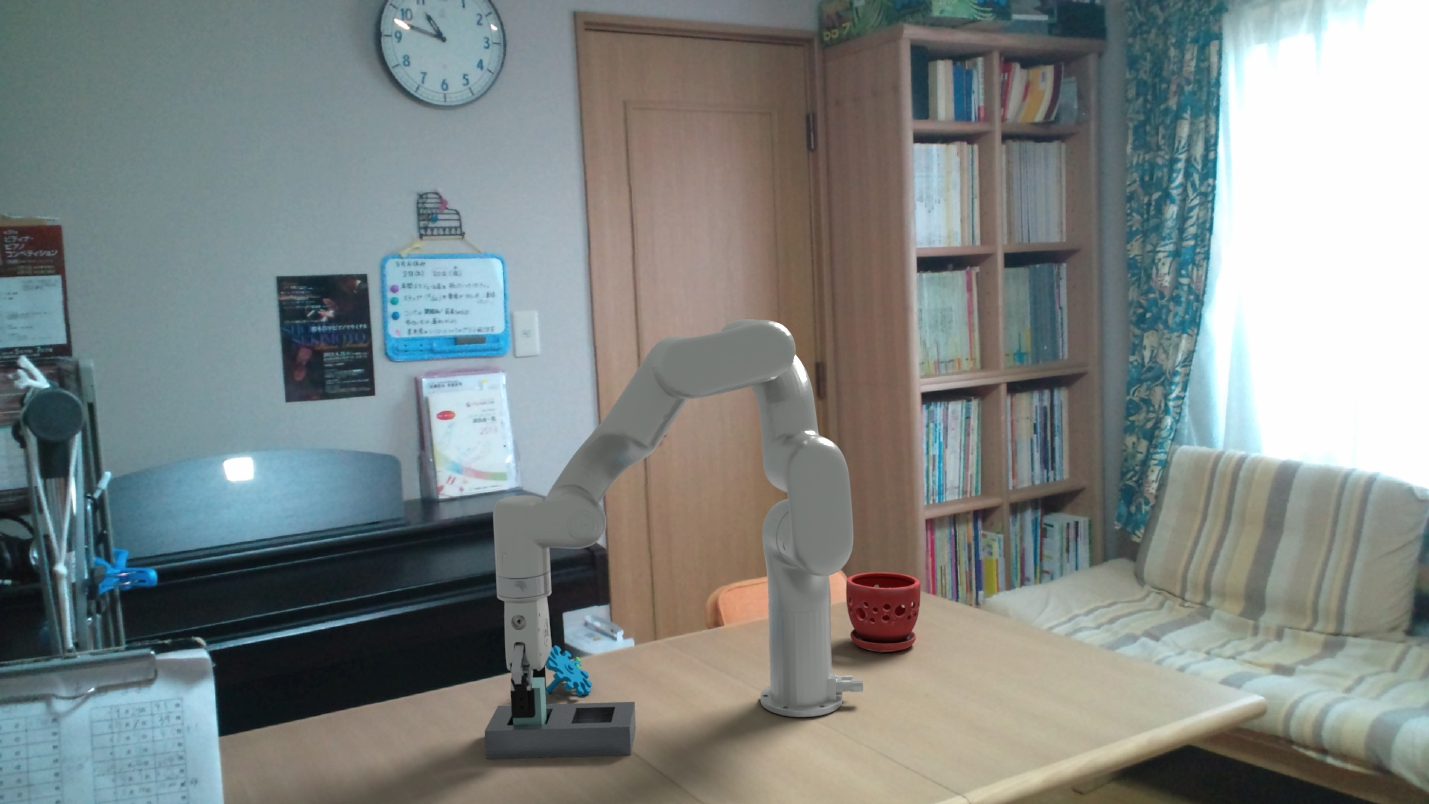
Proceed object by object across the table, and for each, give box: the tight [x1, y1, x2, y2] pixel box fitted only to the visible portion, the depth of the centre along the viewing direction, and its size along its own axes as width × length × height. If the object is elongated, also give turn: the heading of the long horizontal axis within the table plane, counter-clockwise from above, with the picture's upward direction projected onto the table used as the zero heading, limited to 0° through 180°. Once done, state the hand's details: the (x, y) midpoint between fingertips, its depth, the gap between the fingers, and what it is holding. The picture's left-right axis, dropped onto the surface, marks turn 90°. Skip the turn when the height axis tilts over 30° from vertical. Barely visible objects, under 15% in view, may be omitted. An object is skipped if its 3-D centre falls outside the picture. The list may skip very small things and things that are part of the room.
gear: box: [545, 645, 593, 697], centre depth 166 cm, size 11×6×10 cm
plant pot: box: [845, 571, 922, 654], centre depth 184 cm, size 13×13×12 cm
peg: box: [513, 677, 547, 725], centre depth 146 cm, size 4×4×9 cm
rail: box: [484, 701, 637, 760], centre depth 146 cm, size 20×9×4 cm, turn 90°
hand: (529, 704), depth 146 cm, fingers open, 8 cm apart
